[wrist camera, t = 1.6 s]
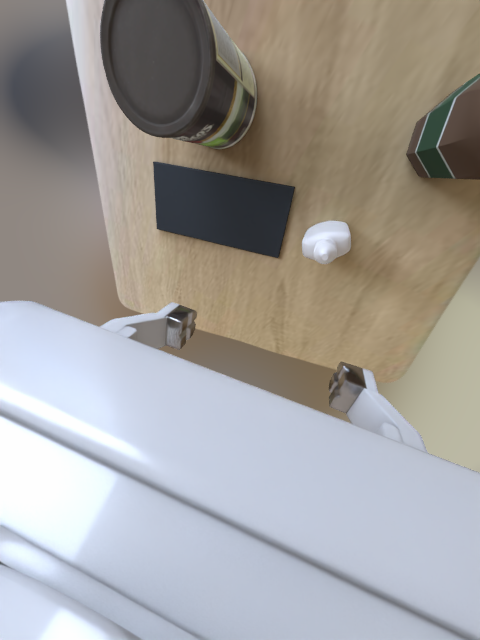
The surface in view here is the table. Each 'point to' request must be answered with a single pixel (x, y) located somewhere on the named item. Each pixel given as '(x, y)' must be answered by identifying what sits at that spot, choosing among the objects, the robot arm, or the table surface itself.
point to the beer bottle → (449, 136)
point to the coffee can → (177, 71)
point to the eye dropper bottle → (326, 241)
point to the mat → (222, 208)
